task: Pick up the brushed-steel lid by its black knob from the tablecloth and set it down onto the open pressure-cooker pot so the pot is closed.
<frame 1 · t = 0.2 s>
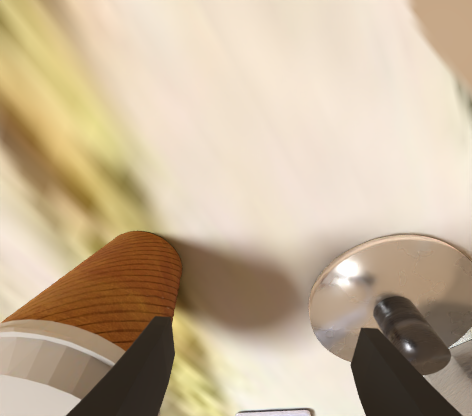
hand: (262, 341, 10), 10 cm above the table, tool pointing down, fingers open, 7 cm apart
lid: (383, 296, 22), on the table
disposable coffee cup: (145, 262, 21), on the table
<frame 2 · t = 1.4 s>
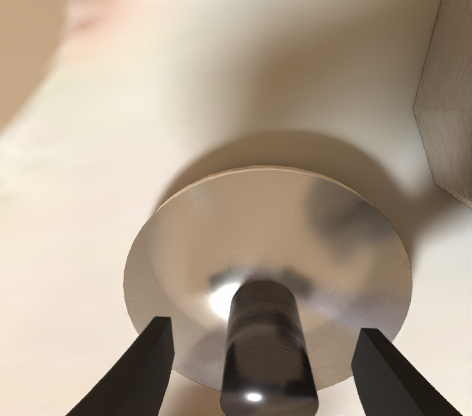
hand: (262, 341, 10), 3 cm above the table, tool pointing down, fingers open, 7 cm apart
lid: (261, 284, 13), on the table
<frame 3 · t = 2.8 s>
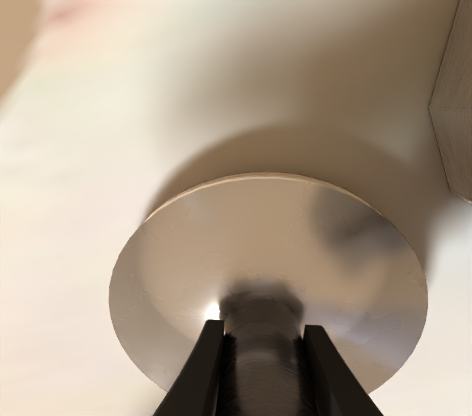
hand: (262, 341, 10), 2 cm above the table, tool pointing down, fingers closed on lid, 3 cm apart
lid: (260, 299, 12), on the table, touching gripper
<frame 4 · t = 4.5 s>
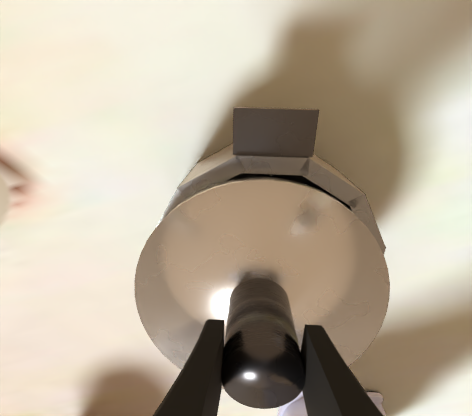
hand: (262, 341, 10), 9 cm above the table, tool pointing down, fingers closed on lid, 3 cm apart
pot: (260, 225, 19), on the table
lid: (257, 284, 15), point 5 cm above the table, touching gripper
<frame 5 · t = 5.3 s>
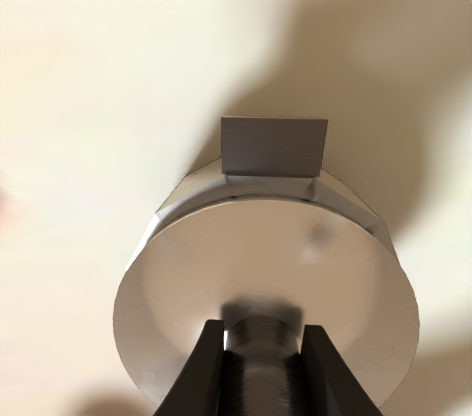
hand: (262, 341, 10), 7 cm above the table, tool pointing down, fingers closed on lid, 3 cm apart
pot: (258, 246, 16), on the table
lid: (259, 317, 12), point 5 cm above the table, touching gripper, pot
when the fingers open (7 cm above the table, at t = 5.7 s): lid stays where it is, resting on pot.
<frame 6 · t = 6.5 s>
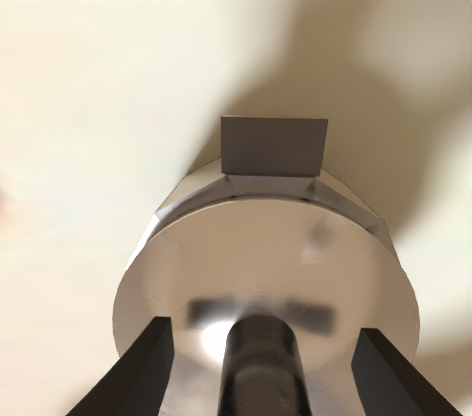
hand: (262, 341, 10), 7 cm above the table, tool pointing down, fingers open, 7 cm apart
pot: (258, 246, 16), on the table
lid: (259, 317, 12), point 5 cm above the table, touching pot
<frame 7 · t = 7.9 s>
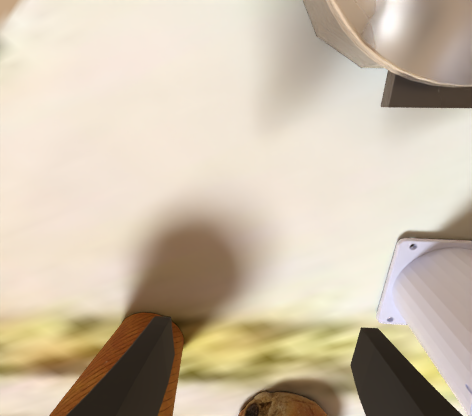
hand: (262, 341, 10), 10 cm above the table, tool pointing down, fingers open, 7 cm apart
bread roll: (285, 415, 29), on the table
disposable coffee cup: (152, 335, 25), on the table
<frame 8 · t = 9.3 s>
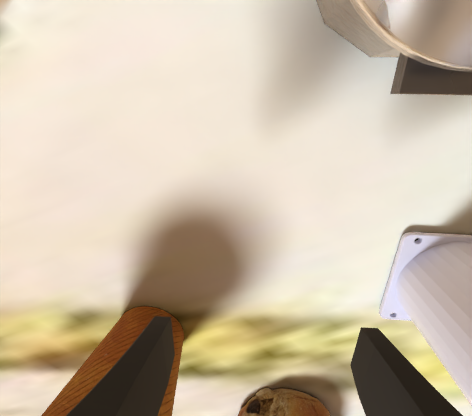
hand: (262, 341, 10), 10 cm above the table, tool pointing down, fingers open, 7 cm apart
bread roll: (286, 412, 29), on the table
disposable coffee cup: (152, 329, 25), on the table
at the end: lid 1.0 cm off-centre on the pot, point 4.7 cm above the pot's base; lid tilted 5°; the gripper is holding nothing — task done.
